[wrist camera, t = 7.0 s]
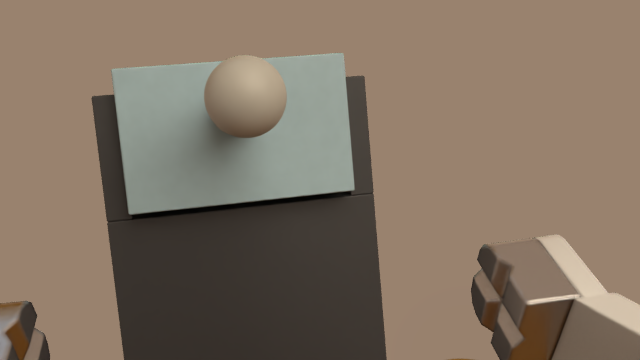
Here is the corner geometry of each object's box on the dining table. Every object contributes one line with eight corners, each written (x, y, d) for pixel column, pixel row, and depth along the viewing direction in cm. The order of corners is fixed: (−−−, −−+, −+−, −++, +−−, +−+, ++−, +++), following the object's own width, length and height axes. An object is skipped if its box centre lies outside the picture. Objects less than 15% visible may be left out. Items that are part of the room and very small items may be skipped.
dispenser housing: (166, 698, 26) (91, 96, 23) (181, 529, 36) (132, 106, 34) (409, 641, 27) (364, 75, 25) (355, 496, 38) (320, 91, 36)
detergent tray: (60, 279, 13) (26, 21, 12) (156, 188, 33) (145, 88, 32) (446, 231, 14) (431, -2, 14) (314, 172, 34) (306, 75, 34)
